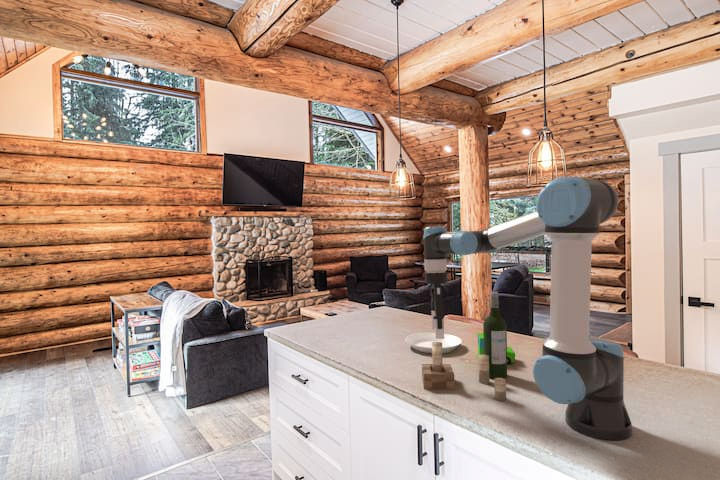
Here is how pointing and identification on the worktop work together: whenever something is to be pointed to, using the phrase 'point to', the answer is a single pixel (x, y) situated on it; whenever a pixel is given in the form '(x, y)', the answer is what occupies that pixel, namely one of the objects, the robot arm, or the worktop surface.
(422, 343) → the white plate
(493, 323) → the wine bottle
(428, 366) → the hole block
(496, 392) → the short dowel
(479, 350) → the toy car
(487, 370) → the medium dowel
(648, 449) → the worktop surface
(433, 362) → the long dowel
